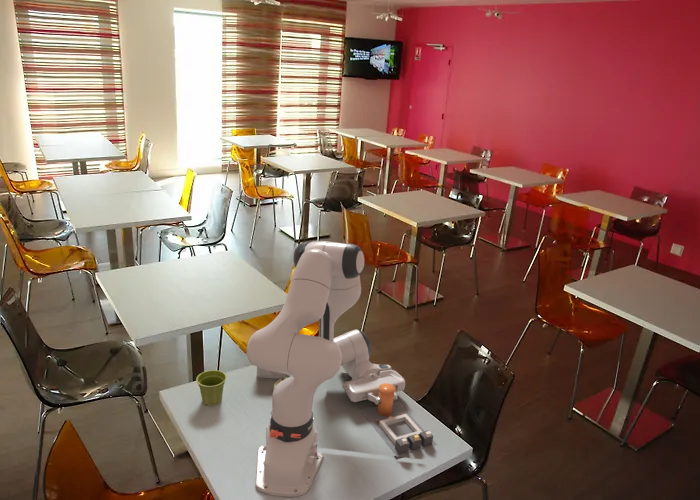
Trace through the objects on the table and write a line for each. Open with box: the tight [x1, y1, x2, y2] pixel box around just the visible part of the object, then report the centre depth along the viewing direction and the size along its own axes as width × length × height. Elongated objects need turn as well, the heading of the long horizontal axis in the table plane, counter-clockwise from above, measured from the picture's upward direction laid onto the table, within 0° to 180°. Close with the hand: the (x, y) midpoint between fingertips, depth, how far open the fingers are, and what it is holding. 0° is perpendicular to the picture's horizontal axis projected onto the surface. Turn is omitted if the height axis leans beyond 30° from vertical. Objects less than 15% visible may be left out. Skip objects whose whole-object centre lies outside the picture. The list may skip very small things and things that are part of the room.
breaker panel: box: [360, 400, 437, 460], centre depth 166 cm, size 23×14×5 cm, turn 26°
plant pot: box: [195, 369, 227, 407], centre depth 173 cm, size 9×9×9 cm
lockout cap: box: [377, 383, 396, 416], centre depth 172 cm, size 5×5×9 cm
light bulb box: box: [256, 366, 288, 380], centre depth 190 cm, size 11×7×11 cm, turn 89°
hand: (387, 400), depth 171 cm, fingers closed on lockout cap, 5 cm apart
